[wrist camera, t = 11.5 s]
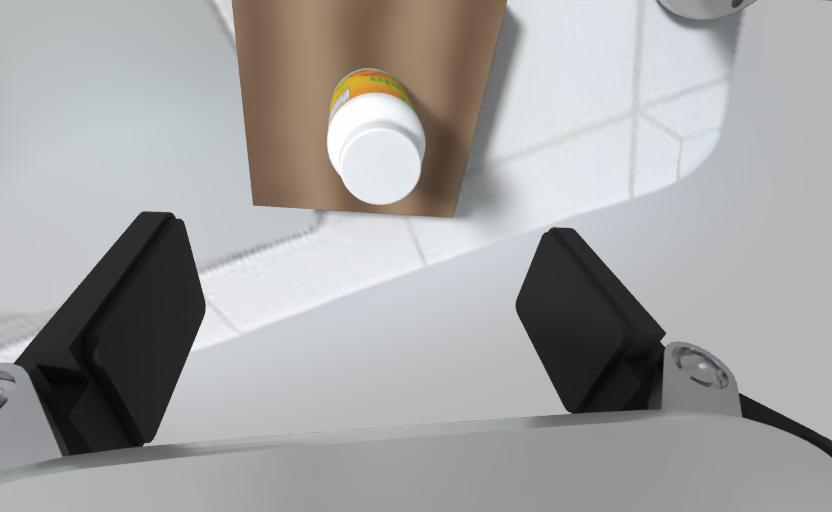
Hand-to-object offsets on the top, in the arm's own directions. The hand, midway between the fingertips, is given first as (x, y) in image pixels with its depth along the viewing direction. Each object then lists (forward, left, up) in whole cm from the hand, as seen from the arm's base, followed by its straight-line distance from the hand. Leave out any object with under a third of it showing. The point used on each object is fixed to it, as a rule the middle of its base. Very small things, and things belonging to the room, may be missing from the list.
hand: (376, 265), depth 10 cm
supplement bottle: (-1, +1, -19) cm, 19 cm away
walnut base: (-1, +1, -22) cm, 22 cm away
